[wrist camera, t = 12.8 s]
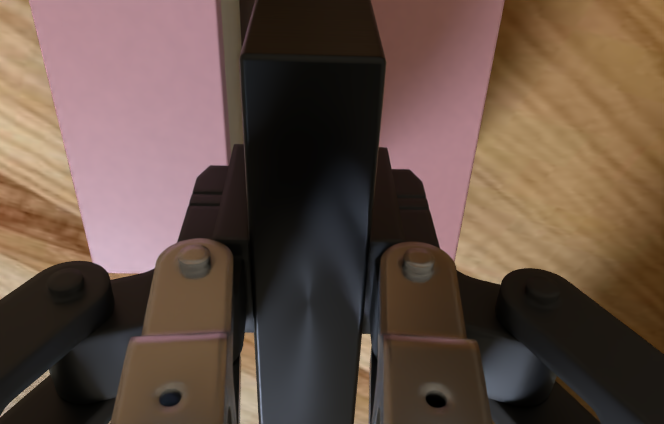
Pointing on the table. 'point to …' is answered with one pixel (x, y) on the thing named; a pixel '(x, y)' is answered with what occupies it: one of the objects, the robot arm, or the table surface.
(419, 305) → the robot arm
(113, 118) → the cake
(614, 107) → the table surface
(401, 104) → the slice
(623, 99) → the table surface
